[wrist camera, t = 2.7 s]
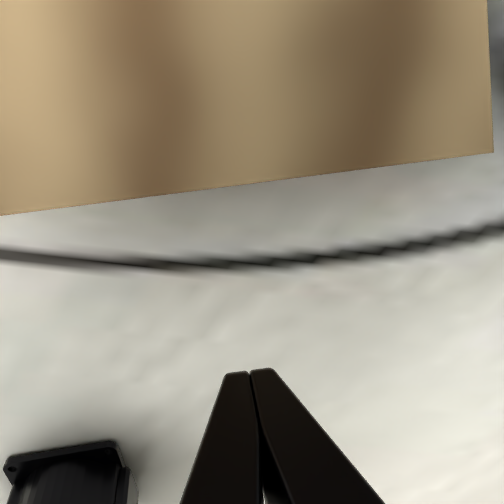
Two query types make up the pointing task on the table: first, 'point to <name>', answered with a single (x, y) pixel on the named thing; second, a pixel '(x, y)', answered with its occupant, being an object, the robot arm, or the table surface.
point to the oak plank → (231, 93)
